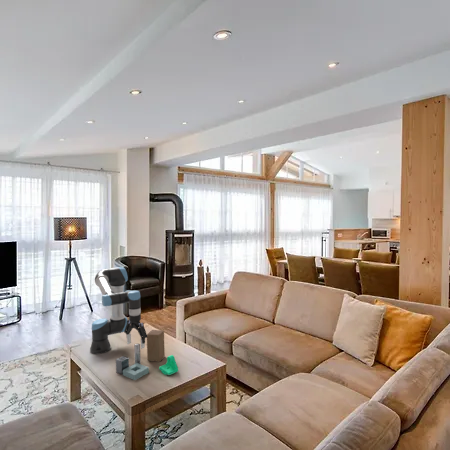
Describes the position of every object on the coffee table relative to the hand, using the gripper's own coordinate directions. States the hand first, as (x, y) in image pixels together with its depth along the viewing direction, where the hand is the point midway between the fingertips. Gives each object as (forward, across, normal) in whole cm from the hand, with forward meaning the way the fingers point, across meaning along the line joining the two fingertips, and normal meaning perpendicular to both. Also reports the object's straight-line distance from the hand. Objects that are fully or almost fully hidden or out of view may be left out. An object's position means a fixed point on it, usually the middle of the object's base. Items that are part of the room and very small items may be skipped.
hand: (135, 345), depth 217 cm
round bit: (+19, -10, +10) cm, 23 cm away
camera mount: (+20, +16, +14) cm, 29 cm away
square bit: (+19, -10, -3) cm, 22 cm away
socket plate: (+19, 0, 0) cm, 19 cm away
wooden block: (+19, -5, +22) cm, 30 cm away
